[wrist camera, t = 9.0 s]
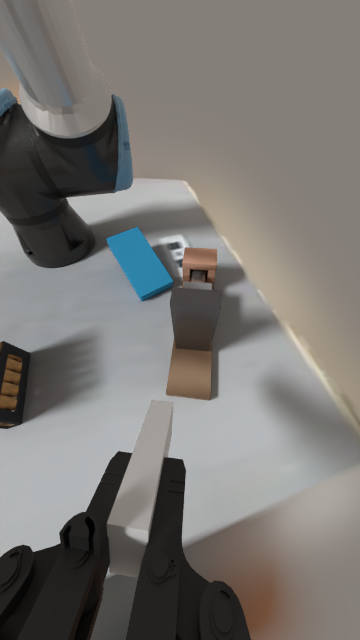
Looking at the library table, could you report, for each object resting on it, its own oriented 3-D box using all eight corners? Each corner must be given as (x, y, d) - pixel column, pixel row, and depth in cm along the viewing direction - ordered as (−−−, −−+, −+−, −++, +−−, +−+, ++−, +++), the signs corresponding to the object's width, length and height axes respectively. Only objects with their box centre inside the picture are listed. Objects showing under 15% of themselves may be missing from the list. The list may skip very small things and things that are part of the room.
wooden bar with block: (209, 400, 25) (216, 390, 19) (166, 395, 26) (161, 384, 20) (213, 275, 38) (218, 247, 32) (184, 273, 38) (184, 245, 32)
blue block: (170, 296, 41) (133, 238, 45) (173, 281, 35) (129, 214, 38) (143, 310, 40) (106, 248, 43) (141, 296, 33) (97, 225, 37)
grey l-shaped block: (208, 351, 27) (221, 306, 18) (175, 348, 28) (169, 302, 18) (211, 276, 35) (221, 217, 26) (185, 275, 36) (185, 216, 26)
